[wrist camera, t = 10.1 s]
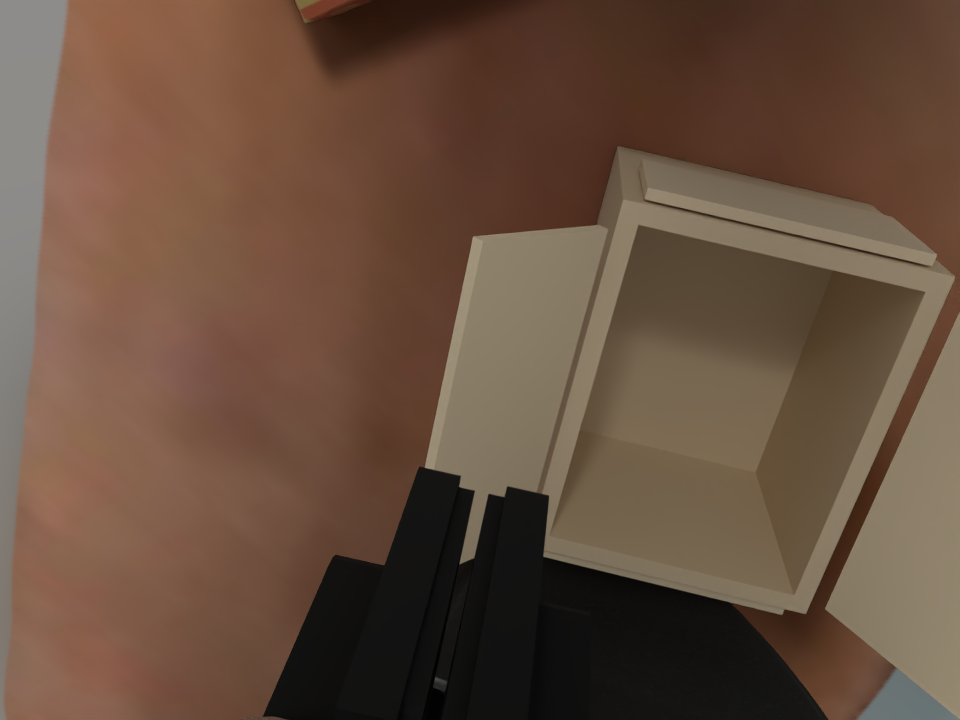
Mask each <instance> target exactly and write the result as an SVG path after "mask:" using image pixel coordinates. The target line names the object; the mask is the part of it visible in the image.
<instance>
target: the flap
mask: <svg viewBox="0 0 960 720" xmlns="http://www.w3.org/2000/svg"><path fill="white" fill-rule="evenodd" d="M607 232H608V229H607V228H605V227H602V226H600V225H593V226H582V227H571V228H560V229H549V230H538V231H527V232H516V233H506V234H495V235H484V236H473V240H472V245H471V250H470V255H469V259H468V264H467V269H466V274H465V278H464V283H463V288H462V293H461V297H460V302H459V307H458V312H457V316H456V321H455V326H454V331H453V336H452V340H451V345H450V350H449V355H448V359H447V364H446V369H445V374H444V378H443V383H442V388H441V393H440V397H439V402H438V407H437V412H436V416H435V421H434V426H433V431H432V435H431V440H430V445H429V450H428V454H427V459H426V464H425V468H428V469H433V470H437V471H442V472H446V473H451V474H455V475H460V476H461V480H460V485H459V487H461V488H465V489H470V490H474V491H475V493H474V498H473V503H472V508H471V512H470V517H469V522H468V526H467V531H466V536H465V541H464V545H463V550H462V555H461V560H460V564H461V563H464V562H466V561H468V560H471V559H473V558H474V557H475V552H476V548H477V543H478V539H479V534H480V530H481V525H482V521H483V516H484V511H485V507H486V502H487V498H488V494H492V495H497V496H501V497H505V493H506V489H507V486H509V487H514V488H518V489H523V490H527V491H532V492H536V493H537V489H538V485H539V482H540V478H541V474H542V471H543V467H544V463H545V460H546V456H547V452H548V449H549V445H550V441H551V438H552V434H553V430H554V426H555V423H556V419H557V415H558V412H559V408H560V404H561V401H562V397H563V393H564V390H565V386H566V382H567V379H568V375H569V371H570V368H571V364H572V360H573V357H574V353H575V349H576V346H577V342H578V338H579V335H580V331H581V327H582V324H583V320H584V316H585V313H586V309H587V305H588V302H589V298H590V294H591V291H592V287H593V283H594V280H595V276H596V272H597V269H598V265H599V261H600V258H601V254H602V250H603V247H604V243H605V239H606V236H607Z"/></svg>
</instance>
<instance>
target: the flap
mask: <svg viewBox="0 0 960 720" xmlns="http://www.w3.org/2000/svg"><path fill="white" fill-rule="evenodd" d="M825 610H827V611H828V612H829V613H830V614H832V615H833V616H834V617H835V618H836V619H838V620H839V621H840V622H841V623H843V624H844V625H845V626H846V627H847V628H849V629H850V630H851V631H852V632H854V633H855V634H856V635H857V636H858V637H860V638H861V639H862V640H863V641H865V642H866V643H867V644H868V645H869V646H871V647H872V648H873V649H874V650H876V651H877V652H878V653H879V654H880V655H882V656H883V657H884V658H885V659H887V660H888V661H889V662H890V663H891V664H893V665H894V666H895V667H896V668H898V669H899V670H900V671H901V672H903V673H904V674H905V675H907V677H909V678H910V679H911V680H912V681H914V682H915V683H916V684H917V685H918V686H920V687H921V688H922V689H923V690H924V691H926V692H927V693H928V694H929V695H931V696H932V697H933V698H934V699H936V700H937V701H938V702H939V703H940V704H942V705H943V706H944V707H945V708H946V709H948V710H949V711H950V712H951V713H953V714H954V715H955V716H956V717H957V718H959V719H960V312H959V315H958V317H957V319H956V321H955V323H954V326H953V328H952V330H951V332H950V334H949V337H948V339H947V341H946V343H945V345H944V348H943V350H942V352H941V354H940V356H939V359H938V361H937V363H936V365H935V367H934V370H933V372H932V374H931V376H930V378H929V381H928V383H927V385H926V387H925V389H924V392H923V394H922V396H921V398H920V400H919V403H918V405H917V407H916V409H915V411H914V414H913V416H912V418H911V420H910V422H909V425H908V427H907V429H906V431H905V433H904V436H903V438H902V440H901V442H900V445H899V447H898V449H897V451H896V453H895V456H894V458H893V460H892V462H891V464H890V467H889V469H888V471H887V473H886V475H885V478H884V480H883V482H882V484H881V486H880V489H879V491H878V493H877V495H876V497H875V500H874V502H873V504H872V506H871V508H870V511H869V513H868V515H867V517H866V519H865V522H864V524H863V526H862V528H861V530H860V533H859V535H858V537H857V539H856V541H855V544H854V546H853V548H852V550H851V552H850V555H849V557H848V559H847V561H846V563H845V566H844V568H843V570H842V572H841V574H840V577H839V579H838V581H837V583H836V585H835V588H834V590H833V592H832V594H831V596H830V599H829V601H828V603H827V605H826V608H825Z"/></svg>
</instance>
